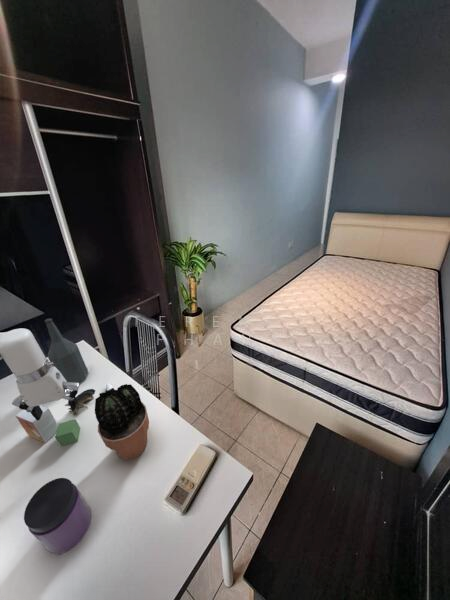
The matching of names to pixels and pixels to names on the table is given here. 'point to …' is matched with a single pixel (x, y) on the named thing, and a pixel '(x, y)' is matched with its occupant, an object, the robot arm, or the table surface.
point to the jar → (67, 528)
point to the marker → (109, 386)
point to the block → (67, 432)
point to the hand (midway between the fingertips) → (57, 411)
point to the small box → (38, 424)
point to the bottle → (66, 356)
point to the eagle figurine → (83, 399)
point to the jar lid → (50, 505)
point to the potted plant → (122, 421)
